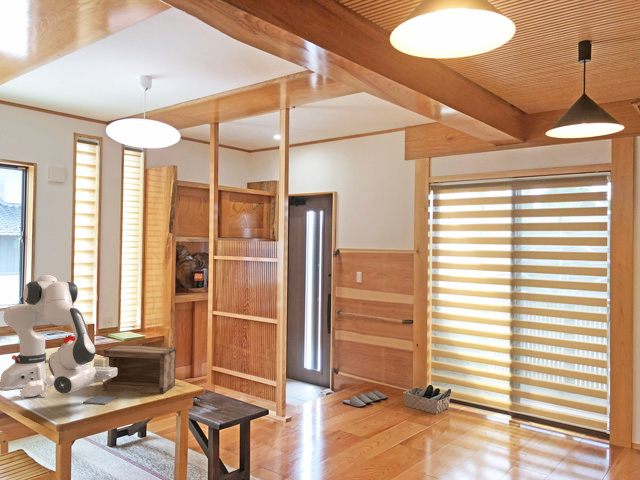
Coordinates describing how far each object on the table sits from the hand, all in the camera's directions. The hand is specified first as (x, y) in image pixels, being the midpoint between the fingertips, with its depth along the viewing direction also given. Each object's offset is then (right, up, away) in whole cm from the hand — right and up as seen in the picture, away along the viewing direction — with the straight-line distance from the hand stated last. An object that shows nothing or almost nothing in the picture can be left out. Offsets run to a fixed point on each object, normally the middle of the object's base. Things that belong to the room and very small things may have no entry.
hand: (102, 367), depth 230 cm
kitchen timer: (-50, -14, +73) cm, 90 cm away
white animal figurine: (-30, -14, +4) cm, 34 cm away
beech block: (0, -5, -1) cm, 6 cm away
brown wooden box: (+10, -15, +20) cm, 27 cm away
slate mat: (-1, -14, -1) cm, 14 cm away
